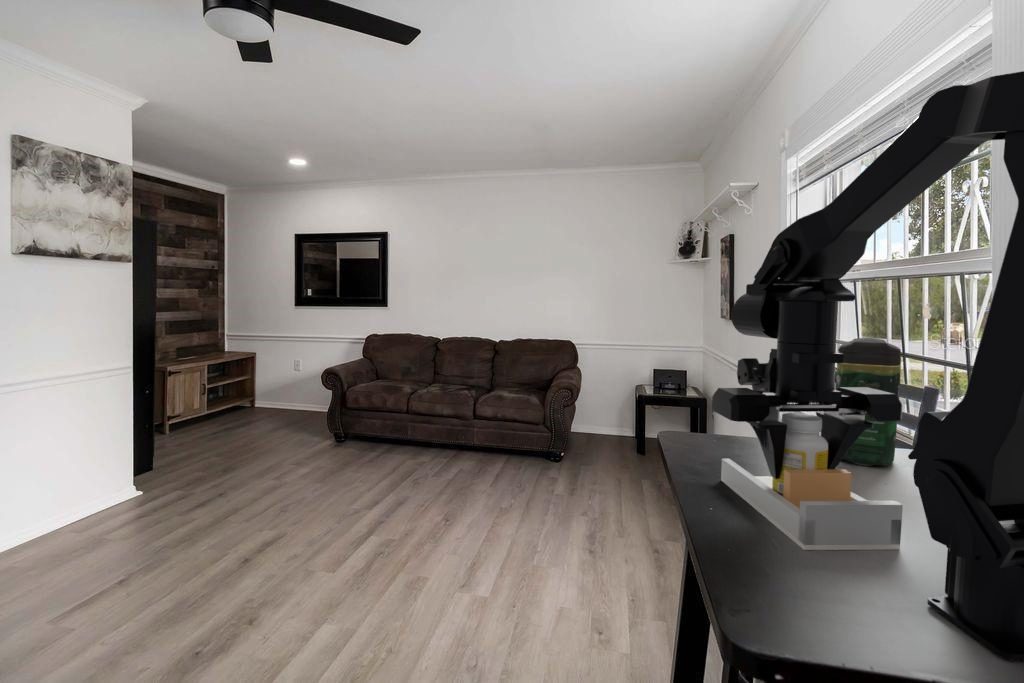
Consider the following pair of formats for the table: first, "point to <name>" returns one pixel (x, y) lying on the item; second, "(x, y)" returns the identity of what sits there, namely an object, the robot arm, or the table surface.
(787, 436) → the supplement bottle
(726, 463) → the lane
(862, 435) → the coffee jar
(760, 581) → the table surface
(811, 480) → the pusher
